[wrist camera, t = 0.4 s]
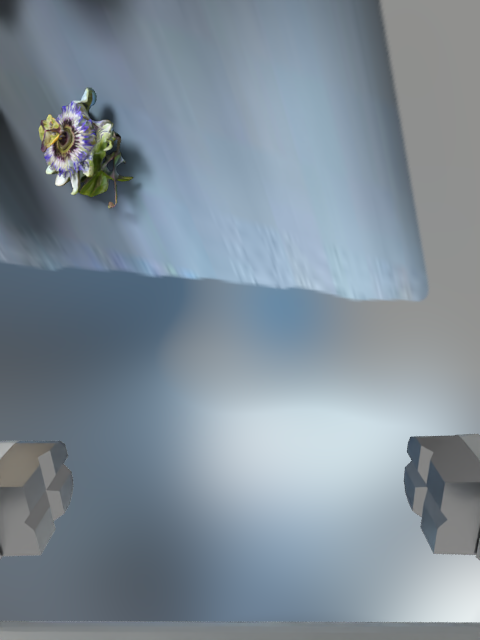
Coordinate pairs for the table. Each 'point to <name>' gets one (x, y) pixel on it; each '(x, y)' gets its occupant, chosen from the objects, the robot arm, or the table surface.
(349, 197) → the table surface
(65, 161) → the passion flower
